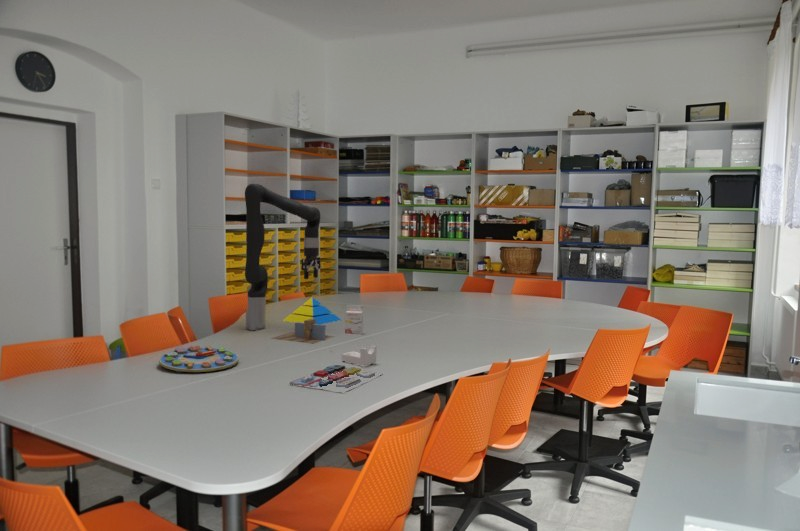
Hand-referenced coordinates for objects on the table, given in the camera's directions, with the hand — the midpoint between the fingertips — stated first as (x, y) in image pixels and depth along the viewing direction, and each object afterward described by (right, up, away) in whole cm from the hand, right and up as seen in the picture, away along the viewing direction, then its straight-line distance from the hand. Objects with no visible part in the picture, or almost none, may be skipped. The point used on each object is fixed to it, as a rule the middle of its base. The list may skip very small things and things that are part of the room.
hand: (310, 278), depth 330 cm
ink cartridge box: (+22, -29, -1) cm, 36 cm away
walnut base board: (-2, -29, -17) cm, 34 cm away
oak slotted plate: (+2, -29, -18) cm, 34 cm away
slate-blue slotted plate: (+2, -29, -18) cm, 34 cm away
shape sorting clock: (-35, -34, -70) cm, 86 cm away
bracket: (+28, -34, -62) cm, 76 cm away
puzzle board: (+22, -37, -89) cm, 99 cm away
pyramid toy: (-4, -26, +37) cm, 46 cm away
